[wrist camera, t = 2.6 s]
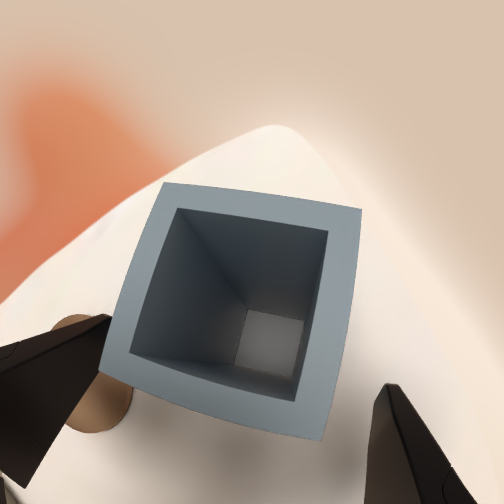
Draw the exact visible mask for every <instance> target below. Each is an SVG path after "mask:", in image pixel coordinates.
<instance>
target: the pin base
mask: <svg viewBox="0 0 504 504" xmlns="http://www.w3.org/2000/svg"><path fill="white" fill-rule="evenodd" d="M88 318H91V317H90V316H88V315H82V314H76V315H71V316H68V317H66V318H64V319H62V320H61V321H59V322H58V323H57V324H56V325H55V326H54V327H53V328H52V330H55V329H58V328H61V327H64V326H67V325H70V324H73V323H76V322H79V321H82V320H85V319H88ZM52 330H51V331H52ZM132 390H133V387H132V386H130V385H128V384H126V383H123V382H121V381H119V380H117V379H115V378H113V377H111V376H109V375H107V374H105V373H103V372H101V371H100V372H99V373H98V375H97V376H96V378H95V379H94V381H93V382H92V384H91V385H90V387H89V388H88V390H87V391H86V392H85V394H84V395H83V397H82V398H81V400H80V401H79V403H78V404H77V406H76V407H75V409H74V410H73V412H72V413H71V415H70V416H69V418H68V420H67V421H66V423H65V424H66V425H68V426H69V427H71V428H73V429H75V430H77V431H80V432H83V433H97V432H102V431H105V430H108V429H110V428H112V427H114V426H115V425H116V424H118V423H119V421H120V420H121V419H122V418H123V416H124V415H125V413H126V411H127V409H128V407H129V404H130V401H131V397H132Z"/></svg>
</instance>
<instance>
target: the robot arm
mask: <svg viewBox="0 0 504 504" xmlns="http://www.w3.org/2000/svg"><path fill="white" fill-rule="evenodd" d="M111 321H112V316H109V315H107V314H100V315H97V316H94V317H91V318H88V319H85V320H82V321H79V322H76V323H73V324H70V325H67V326H64V327H61V328H58V329H55V330H52V331H49V332H46V333H43V334H40V335H37V336H34V337H31V338H28V339H25V340H22V341H18V342H15V343H12V344H9V345H6V346H2V347H0V504H7V501H6V494H5V486H4V479H3V477H2V476H1V474H2V473H4V474H5V475H7V476H8V477H9V478H10V479H12V480H13V481H14V482H16V483H17V484H18V485H20V486H21V487H22V488H24V489H25V488H26V487H27V486H28V484H29V482H30V480H31V478H32V477H33V475H34V473H35V472H36V470H37V468H38V466H39V465H40V463H41V461H42V460H43V458H44V456H45V455H46V453H47V451H48V450H49V448H50V446H51V445H52V443H53V442H54V440H55V438H56V437H57V435H58V434H59V432H60V430H61V429H62V427H63V426H64V424H65V423H66V421H67V420H68V418H69V416H70V415H71V413H72V412H73V410H74V409H75V407H76V406H77V404H78V403H79V401H80V400H81V398H82V397H83V395H84V394H85V392H86V391H87V390H88V388H89V387H90V385H91V384H92V382H93V381H94V379H95V378H96V376H97V375H98V373H99V372H100V371H99V370H98V369H99V365H100V361H101V357H102V353H103V349H104V345H105V342H106V338H107V335H108V331H109V328H110V324H111ZM364 504H478V503H477V502H476V501H475V500H474V498H473V497H472V496H471V494H470V493H469V491H468V490H467V489H466V487H465V486H464V484H463V483H462V481H461V480H460V478H459V477H458V475H457V473H456V472H455V470H454V468H453V467H451V464H450V462H449V461H448V459H447V457H446V456H445V454H444V453H443V451H442V449H441V448H440V446H439V445H438V443H437V442H436V440H435V439H434V437H433V435H432V434H431V432H430V431H429V429H428V428H427V426H426V425H425V423H424V422H423V420H422V419H421V417H420V416H419V414H418V413H417V411H416V410H415V408H414V407H413V405H412V404H411V402H410V401H409V399H408V398H407V396H406V395H405V394H404V392H403V391H402V389H401V388H400V386H399V385H397V384H390V383H386V384H385V385H384V386H383V388H382V389H381V391H380V393H379V394H378V396H377V398H376V400H375V402H374V407H373V415H372V423H371V430H370V437H369V444H368V454H367V473H366V486H365V497H364Z"/></svg>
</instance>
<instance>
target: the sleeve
mask: <svg viewBox="0 0 504 504" xmlns="http://www.w3.org/2000/svg"><path fill="white" fill-rule="evenodd" d="M361 215H362V209H358V208H353V207H348V206H342V205H336V204H331V203H325V202H319V201H313V200H307V199H300V198H294V197H287V196H280V195H273V194H266V193H259V192H251V191H243V190H235V189H227V188H218V187H209V186H199V185H189V184H178V183H167V182H164V183H163V185H162V187H161V189H160V192H159V194H158V196H157V198H156V201H155V203H154V205H153V208H152V210H151V212H150V215H149V217H148V219H147V222H146V224H145V227H144V229H143V232H142V234H141V237H140V239H139V242H138V245H137V247H136V250H135V252H134V255H133V258H132V260H131V263H130V266H129V269H128V272H127V274H126V277H125V280H124V283H123V286H122V289H121V292H120V295H119V298H118V301H117V304H116V308H115V311H114V314H113V317H112V321H111V324H110V328H109V331H108V335H107V338H106V342H105V345H104V349H103V353H102V357H101V361H100V365H99V369H98V370H99V371H101V372H103V373H105V374H107V375H109V376H111V377H113V378H115V379H117V380H119V381H121V382H123V383H126V384H128V385H130V386H132V387H134V388H137V389H139V390H141V391H144V392H146V393H148V394H151V395H153V396H156V397H158V398H161V399H163V400H166V401H168V402H171V403H174V404H176V405H179V406H182V407H185V408H188V409H190V410H193V411H196V412H199V413H202V414H205V415H209V416H212V417H215V418H218V419H222V420H225V421H229V422H232V423H236V424H239V425H243V426H247V427H251V428H255V429H259V430H264V431H268V432H273V433H278V434H282V435H288V436H293V437H298V438H304V439H311V440H317V441H321V439H322V436H323V433H324V429H325V426H326V422H327V418H328V415H329V411H330V407H331V403H332V399H333V395H334V391H335V387H336V383H337V378H338V374H339V369H340V365H341V360H342V355H343V350H344V345H345V340H346V334H347V329H348V323H349V317H350V311H351V304H352V298H353V291H354V284H355V276H356V268H357V259H358V250H359V239H360V228H361ZM248 309H250V310H255V311H259V312H264V313H269V314H274V315H279V316H284V317H289V318H294V319H299V320H304V321H305V322H304V327H303V331H302V336H301V341H300V345H299V349H298V354H297V358H296V362H295V367H294V371H293V375H292V378H289V377H284V376H279V375H275V374H270V373H266V372H261V371H257V370H253V369H249V368H244V367H240V366H237V365H233V364H234V360H235V356H236V352H237V349H238V345H239V341H240V337H241V333H242V329H243V325H244V321H245V317H246V313H247V310H248Z"/></svg>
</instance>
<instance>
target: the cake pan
mask: <svg viewBox="0 0 504 504" xmlns="http://www.w3.org/2000/svg"><path fill="white" fill-rule="evenodd" d="M5 494H6V501H7V504H17V502H16V501H15V500H14V498H13V497H12V496H11V494H10V493H9V492H8V490H7V489H6V488H5Z"/></svg>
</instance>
